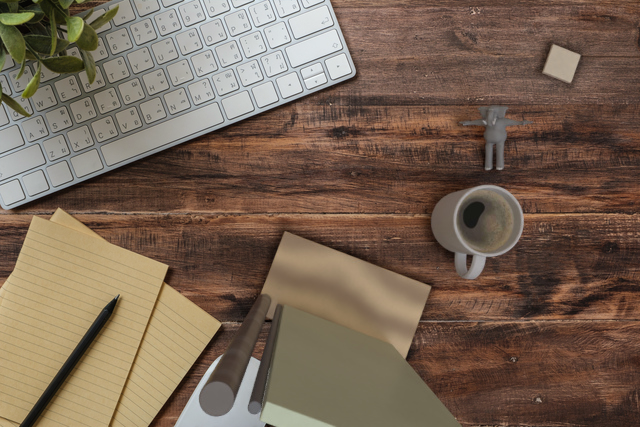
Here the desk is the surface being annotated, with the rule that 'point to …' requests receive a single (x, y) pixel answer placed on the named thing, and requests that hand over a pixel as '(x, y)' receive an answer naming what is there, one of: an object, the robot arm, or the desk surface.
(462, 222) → the mug
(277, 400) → the door
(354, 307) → the door stand
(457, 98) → the desk surface
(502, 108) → the elephant figurine
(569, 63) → the coaster
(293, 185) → the desk surface
